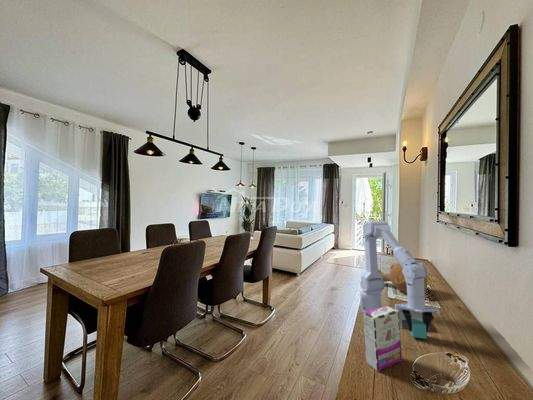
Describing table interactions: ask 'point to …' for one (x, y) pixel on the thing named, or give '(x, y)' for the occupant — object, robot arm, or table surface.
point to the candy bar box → (382, 337)
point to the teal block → (418, 328)
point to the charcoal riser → (414, 315)
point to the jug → (399, 278)
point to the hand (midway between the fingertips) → (417, 330)
